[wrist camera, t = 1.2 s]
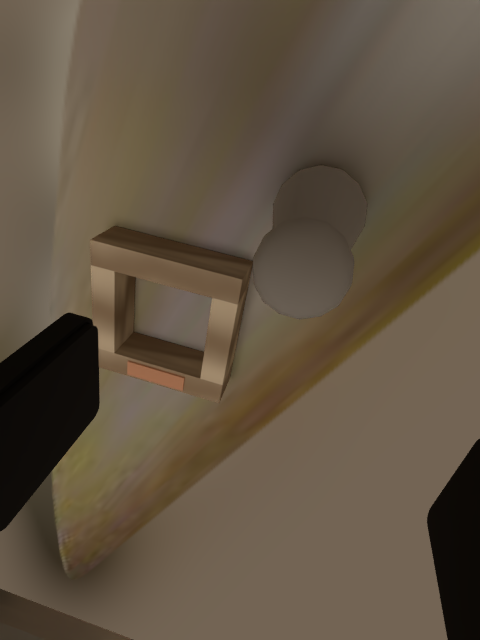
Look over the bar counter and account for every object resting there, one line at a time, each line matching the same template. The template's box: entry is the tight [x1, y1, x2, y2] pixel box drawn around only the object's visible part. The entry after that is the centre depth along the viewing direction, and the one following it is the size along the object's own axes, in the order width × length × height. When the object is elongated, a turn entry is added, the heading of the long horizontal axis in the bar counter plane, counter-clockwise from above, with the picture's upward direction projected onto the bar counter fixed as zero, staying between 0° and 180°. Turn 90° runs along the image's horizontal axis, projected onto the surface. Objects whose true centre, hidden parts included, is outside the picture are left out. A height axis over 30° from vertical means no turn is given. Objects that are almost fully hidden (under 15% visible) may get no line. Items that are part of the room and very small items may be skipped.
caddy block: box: [90, 226, 253, 403], centre depth 33 cm, size 12×11×4 cm
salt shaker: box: [253, 165, 367, 319], centre depth 22 cm, size 6×6×13 cm
